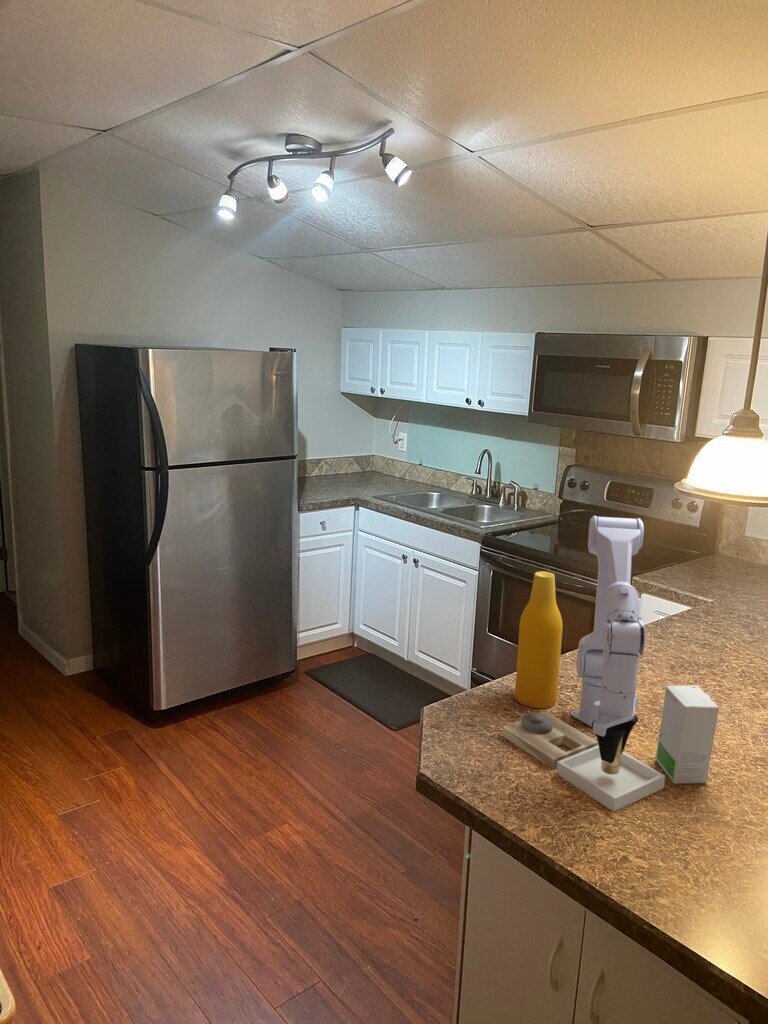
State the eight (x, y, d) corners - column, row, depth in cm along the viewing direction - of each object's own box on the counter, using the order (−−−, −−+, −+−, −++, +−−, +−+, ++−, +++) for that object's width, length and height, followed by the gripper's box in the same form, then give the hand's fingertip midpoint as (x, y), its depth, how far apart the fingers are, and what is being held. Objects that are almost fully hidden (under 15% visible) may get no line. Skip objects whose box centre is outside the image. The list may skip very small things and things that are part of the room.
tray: (605, 753, 143) (606, 742, 143) (663, 788, 133) (665, 775, 132) (556, 773, 136) (557, 761, 136) (613, 811, 125) (615, 798, 125)
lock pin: (605, 762, 136) (608, 727, 135) (622, 769, 134) (625, 733, 133) (597, 769, 134) (601, 734, 132) (614, 776, 132) (618, 740, 130)
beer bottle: (529, 712, 159) (538, 582, 152) (506, 693, 167) (514, 570, 161) (565, 705, 162) (576, 578, 156) (541, 687, 171) (550, 566, 164)
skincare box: (654, 759, 142) (663, 684, 138) (688, 759, 142) (697, 683, 139) (674, 785, 134) (684, 705, 130) (710, 784, 134) (720, 705, 130)
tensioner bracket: (545, 720, 156) (546, 702, 155) (597, 751, 144) (599, 732, 143) (502, 735, 149) (503, 717, 148) (553, 769, 138) (554, 749, 137)
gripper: (613, 666, 138) (607, 733, 141) (578, 693, 127) (572, 764, 130) (651, 678, 134) (643, 746, 137) (618, 706, 123) (611, 780, 126)
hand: (611, 756), depth 133 cm, fingers closed on lock pin, 3 cm apart
